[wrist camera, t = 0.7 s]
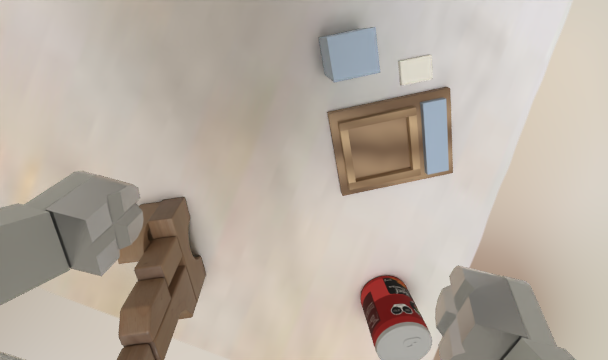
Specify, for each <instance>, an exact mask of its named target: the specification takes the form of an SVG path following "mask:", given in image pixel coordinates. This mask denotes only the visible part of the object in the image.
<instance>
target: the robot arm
mask: <svg viewBox="0 0 608 360" xmlns="http://www.w3.org/2000/svg"><path fill="white" fill-rule="evenodd" d="M139 199H140V194H139V189H138V187H136V186H135V185H133V184H130V183H126V182H123V181H119V180H115V179H112V178H108V177H104V176H101V175H96V174H92V173H89V172H85V171H77V172H74V173H72V174H71V175H69V176H68V177H66V178H64V179H63V180H61V181H60V182H58V183H57V184H55V185H54V186H52V187H51V188H49V189H47V190H46V191H44V192H43V193H41V194H40V195H38V196H37V197H35V198H34V199H32V200H30V201H29V202H27V203H26V204H24V205H22V204H14V205H10V206H6V207H2V208H0V305H2V304H4V303H6V302H8V301H10V300H12V299H13V298H16V297H18V296H20V295H22V294H24V293H25V292H27V291H29V290H31V289H33V288H35V287H37V286H39V285H41V284H43V283H45V282H47V281H49V280H51V279H53V278H55V277H57V276H59V275H61V274H63V273H65V272H67V271H69V270H70V268H71V269H75V270H79V271H83V272H87V273H91V274H95V275H99V276H102V275H103V274H104V273H105V272H106V271H107V270H108V269H109V268H110V267H111V266H112V265H113V264H114V263H115V261H116V260H117V259H118V258H119V257H120V249H122V248H125V247H127V246H129V245H131V244H132V243H133V242H134V241H135V240H136V239H137V237H138V236H139V233H140V231H141V229H142V227H143V219H144V218H143V211H142V210H141V209H140V208H139V206H138V205H137V204H136V203H137V201H138V200H139ZM449 277H450V283H451V285H449V286H447V287H445V288H443V289H442V291H441V293H440V295H439V297H438V300H437V305H436V312H435V320H436V328H437V329H438V330H439V332H440V333H441V334H442V336H443V338H442V340H441V341H440V343H439V345H438V346H439V353H440V360H576V359H575V358H574V357H573V356H572V355H571V354H570V353H569V352H568V351H567V350H566V349H563V348H560V347H557V345H556V343H555V341H554V338H553V336H552V334H551V331H550V329H549V327H548V325H547V322H546V320H545V318H544V315H543V313H542V311H541V309H540V306H539V304H538V301H537V299H536V297H535V295H534V292H533V290H532V288H531V286H530V285H529V284H528V283H527V282H526V281H523V280H519V279H514V278H510V277H505V276H500V275H495V274H491V273H487V272H483V271H479V270H475V269H471V268H467V267H463V266H459V265H458V266H456V267H455V268H454V269H453V271H452V273H451V274H450V276H449ZM0 360H25V359H22V358H19V357H16V356H12V355H9V354H6V353H3V352H0Z"/></svg>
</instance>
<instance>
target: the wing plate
mask: <svg viewBox="0 0 608 360" xmlns="http://www.w3.org/2000/svg"><path fill="white" fill-rule="evenodd" d="M420 108H421V123H422V138H423V153H424V168H425V173H426V174H427V175H429V174H434V173H439V172H443V171H448V170H449V160H448V133H447V106H446V98H438V99H433V100H429V101H424V102H420Z"/></svg>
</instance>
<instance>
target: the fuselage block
mask: <svg viewBox="0 0 608 360" xmlns="http://www.w3.org/2000/svg"><path fill="white" fill-rule="evenodd" d="M319 43H320V49H321V55H322V61H323V67H324V73H325V75H326V76H327V77H328V78H329V79H331V80H332V81H333V82H338V81H343V80H348V79H352V78H357V77H362V76H366V75H371V74H376V73H380V66H379V56H378V47H377V38H376V29H375V27H371V28H362V29H356V30H351V31H347V32H342V33H337V34H333V35H328V36H324V37H319Z"/></svg>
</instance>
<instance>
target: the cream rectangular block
mask: <svg viewBox="0 0 608 360" xmlns="http://www.w3.org/2000/svg"><path fill="white" fill-rule="evenodd" d="M398 64H399V77H400V85H402V86H403V85H408V84H412V83H417V82H422V81H427V80H432V79H433V78H432V55H426V56H421V57H416V58H411V59H406V60H401V61H398Z"/></svg>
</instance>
